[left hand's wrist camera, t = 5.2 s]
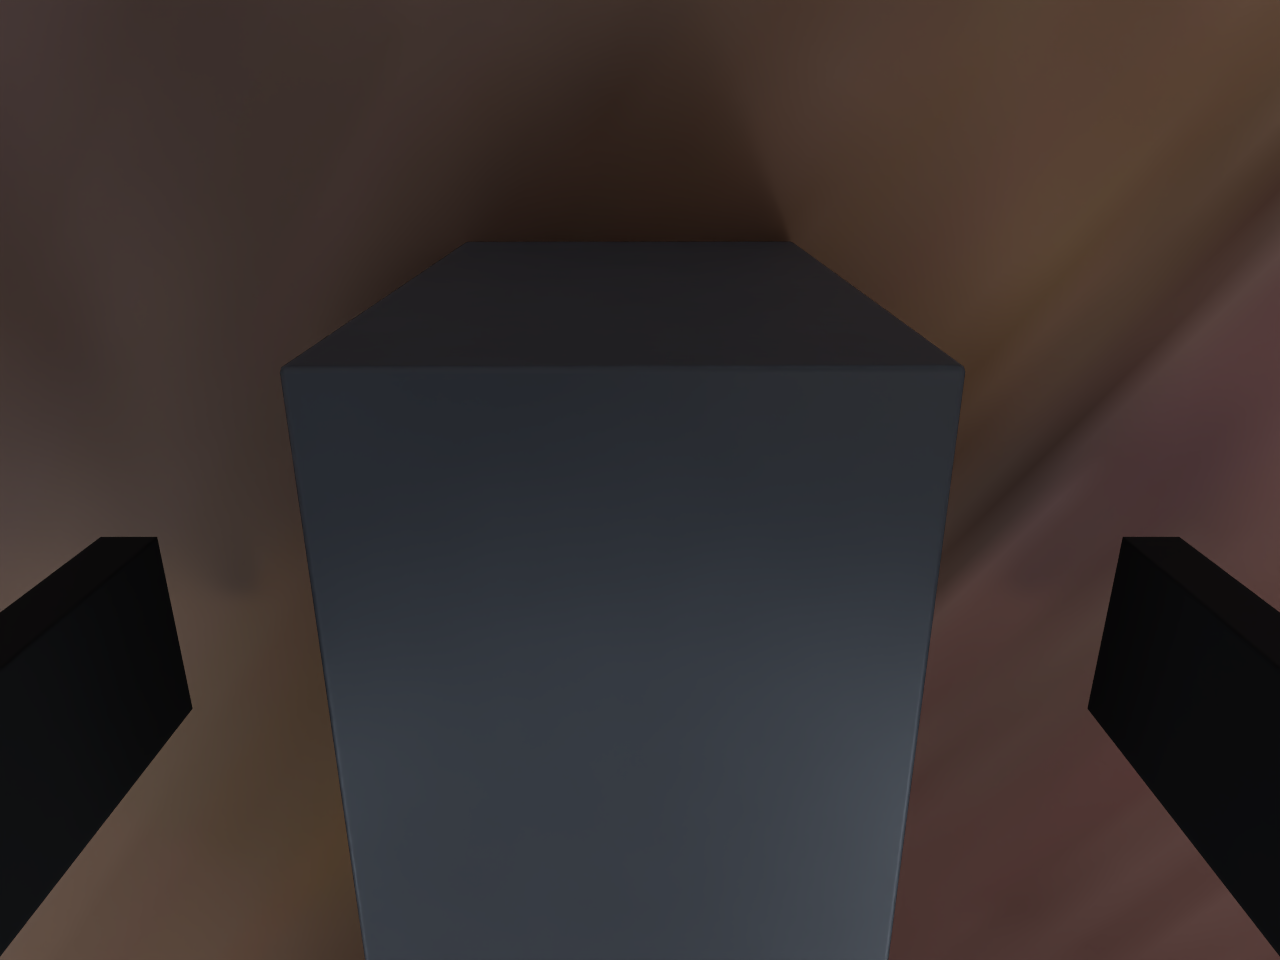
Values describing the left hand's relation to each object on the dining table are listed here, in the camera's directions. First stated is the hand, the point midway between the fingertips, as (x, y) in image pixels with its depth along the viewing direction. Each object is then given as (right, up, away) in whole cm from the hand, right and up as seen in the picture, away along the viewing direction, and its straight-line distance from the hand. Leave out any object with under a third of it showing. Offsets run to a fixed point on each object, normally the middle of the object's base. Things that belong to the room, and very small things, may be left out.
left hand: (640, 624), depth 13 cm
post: (0, -28, +14) cm, 31 cm away
